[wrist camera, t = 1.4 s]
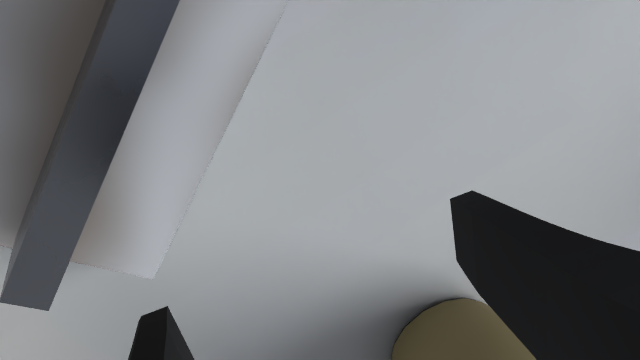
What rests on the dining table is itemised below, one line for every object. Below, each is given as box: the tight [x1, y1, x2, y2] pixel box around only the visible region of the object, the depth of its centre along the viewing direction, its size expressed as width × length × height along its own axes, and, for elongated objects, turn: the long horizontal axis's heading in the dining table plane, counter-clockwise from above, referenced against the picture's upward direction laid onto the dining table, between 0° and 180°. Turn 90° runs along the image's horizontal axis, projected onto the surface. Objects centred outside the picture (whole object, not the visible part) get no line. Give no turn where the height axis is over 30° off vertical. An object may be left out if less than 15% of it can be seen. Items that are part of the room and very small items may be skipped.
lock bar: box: [0, 0, 180, 311], centre depth 14 cm, size 14×3×4 cm, turn 151°
